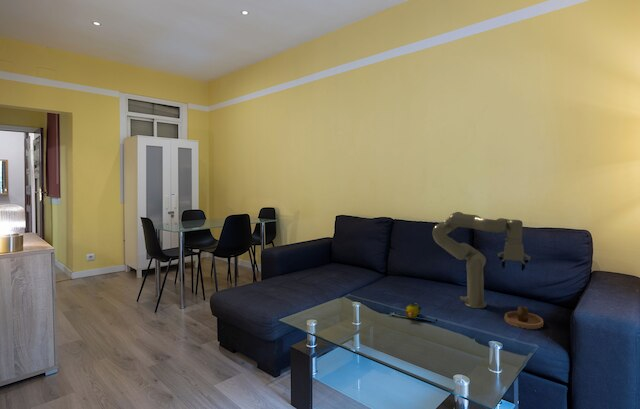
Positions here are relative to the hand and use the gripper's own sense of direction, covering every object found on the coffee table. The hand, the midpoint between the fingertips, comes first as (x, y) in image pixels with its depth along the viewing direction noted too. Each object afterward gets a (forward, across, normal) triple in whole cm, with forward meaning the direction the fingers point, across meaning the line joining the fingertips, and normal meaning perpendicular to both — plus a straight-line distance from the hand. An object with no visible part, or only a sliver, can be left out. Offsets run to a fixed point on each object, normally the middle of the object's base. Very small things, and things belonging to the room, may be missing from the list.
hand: (513, 269), depth 203 cm
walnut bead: (+25, +7, -14) cm, 29 cm away
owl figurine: (+28, -48, -36) cm, 67 cm away
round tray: (+26, +7, -14) cm, 30 cm away
